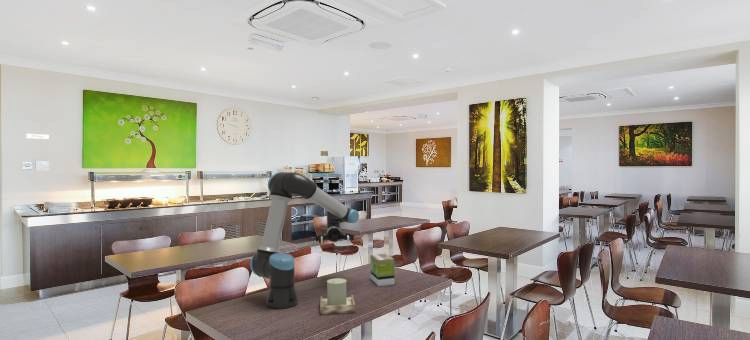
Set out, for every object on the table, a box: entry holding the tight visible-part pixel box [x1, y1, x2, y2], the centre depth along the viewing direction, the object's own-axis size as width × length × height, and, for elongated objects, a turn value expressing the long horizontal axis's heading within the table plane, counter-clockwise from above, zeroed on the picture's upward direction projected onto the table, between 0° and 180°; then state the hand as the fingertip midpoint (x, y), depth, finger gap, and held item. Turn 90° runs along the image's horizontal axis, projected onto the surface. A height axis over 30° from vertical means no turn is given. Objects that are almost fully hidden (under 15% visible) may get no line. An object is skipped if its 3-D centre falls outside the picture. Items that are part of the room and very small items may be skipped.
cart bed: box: [319, 294, 356, 315], centre depth 192 cm, size 16×16×4 cm
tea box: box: [369, 253, 396, 287], centre depth 234 cm, size 15×10×15 cm, turn 17°
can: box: [326, 277, 347, 306], centre depth 192 cm, size 9×9×12 cm
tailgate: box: [322, 296, 351, 301], centre depth 202 cm, size 16×4×1 cm, turn 97°
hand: (335, 240), depth 210 cm, fingers open, 13 cm apart
